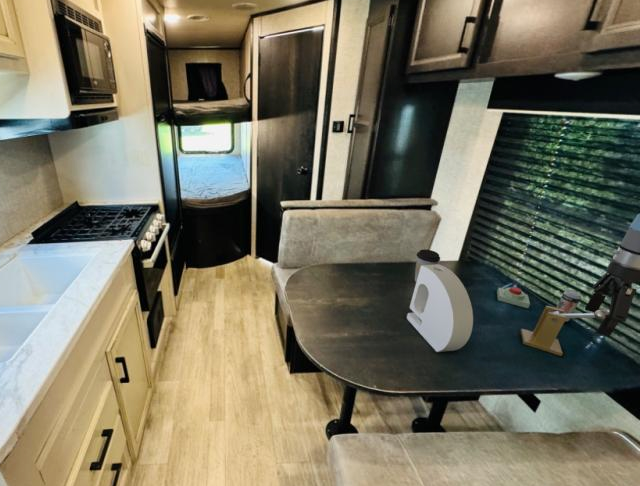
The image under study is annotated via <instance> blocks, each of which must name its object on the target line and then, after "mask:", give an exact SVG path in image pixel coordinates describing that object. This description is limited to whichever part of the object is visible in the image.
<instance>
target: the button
mask: <svg viewBox="0 0 640 486" xmlns="http://www.w3.org/2000/svg"><path fill="white" fill-rule="evenodd" d="M510 288H511V289H510V292H511V293H513V294H517V295H520V294H521V292H523V290H522V289H521V288H520V287H516V286H512V287H510Z"/></svg>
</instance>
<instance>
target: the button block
mask: <svg viewBox="0 0 640 486" xmlns="http://www.w3.org/2000/svg"><path fill="white" fill-rule="evenodd" d="M510 289H511V287H505V288H503V287H498V288H497V290H496V295H497V296H496V297H497V301H499V302H503V303H507V304H510V305H514V306H518V307H521V308H525V309H529V307H530V305H531V302H530V297H529V295H528V294H526V293H525V292H524V291H522V292H521V294H520V295H517V294H513V293H511V292H510Z"/></svg>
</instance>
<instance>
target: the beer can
mask: <svg viewBox="0 0 640 486" xmlns="http://www.w3.org/2000/svg"><path fill="white" fill-rule="evenodd" d="M581 300H582V296H581V293H579V292H577V291H574V290H572V289H567V290H565V291H563V293H562V295H561V297H560V299H559V301H558V302H557V305H556V307H555V308H557V309H561V310H564V312H563V314H574V313H575V311H576V308H577V307H578V305H579V304H580V301H581ZM570 320H571V318H566V320H565V322H569V321H570Z"/></svg>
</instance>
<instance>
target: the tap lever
mask: <svg viewBox="0 0 640 486" xmlns="http://www.w3.org/2000/svg"><path fill="white" fill-rule="evenodd" d="M548 312H552V313H555V314H559V311H547V313H548ZM606 314H608V315H609V311H607V310H605V309H598V310H597V311H595V312H592V313H590V312H589V313H588V312H587V313H573V314H559V315H563V316H566V318H570V319H596V320H598V321H600V322H602V321H603V320H604V318H605V315H606Z"/></svg>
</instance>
